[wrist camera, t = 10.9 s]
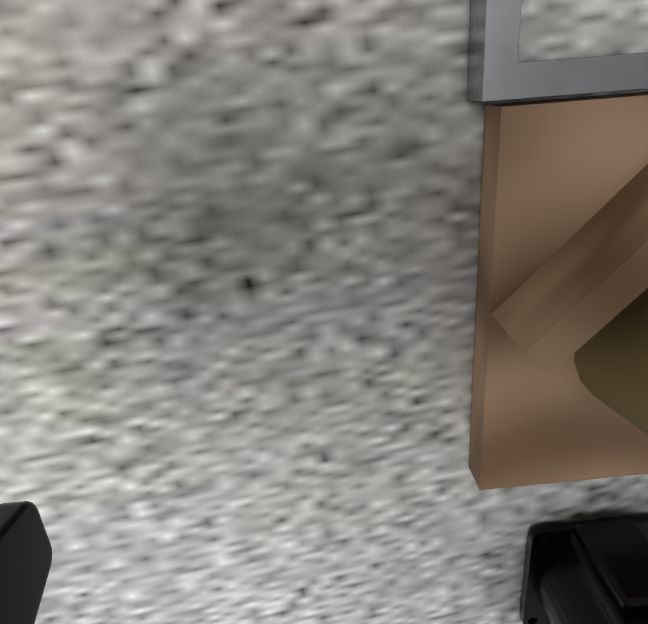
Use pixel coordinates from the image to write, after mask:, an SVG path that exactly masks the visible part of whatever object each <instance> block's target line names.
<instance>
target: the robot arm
mask: <svg viewBox="0 0 648 624" xmlns="http://www.w3.org/2000/svg"><path fill="white" fill-rule="evenodd" d="M51 562H52V548H51V544H50V541H49V538H48V536H47V533H46V530H45V528H44V525H43V522H42V520H41V517H40V514H39V511H38V509H37V507H36V506H35V505H34V504H33V503H32V502H28V501H22V502H12V503H3V504H0V624H34V623H35V620H36V616H37V613H38V609H39V606H40V602H41V599H42V595H43V592H44V588H45V584H46V581H47V577H48V574H49V570H50V567H51ZM520 618H521V620H522V622H523V624H648V515H643V516H633V517H623V518H613V519H603V520H593V521H583V522H573V523H563V524H553V525H543V526H537V527H535V528H533V529H532V530H531V531H530V532H529V535H528V544H527V553H526V563H525V572H524V581H523V590H522V600H521V609H520Z"/></svg>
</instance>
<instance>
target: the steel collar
mask: <svg viewBox="0 0 648 624" xmlns="http://www.w3.org/2000/svg"><path fill="white" fill-rule="evenodd" d="M520 14H521V0H471V8H470V39H469V69H468V100H473V101H482V102H483V101H495V100H508V99H520V98H532V97H545V96H557V95H570V94H582V93H595V92H607V91H620V90H632V89H644V88H648V52H647V53H635V54H622V55H609V56H597V57H584V58H571V59H559V60H546V61H533V62H521V63H517V59H518V44H519V29H520Z"/></svg>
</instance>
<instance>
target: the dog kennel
mask: <svg viewBox="0 0 648 624" xmlns="http://www.w3.org/2000/svg"><path fill="white" fill-rule="evenodd" d="M647 288H648V92H639V93H627V94H614V95H602V96H590V97H577V98H565V99H552V100H540V101H528V102H515V103H503V104H490V105H485V120H484V142H483V164H482V186H481V208H480V230H479V252H478V274H477V296H476V319H475V341H474V363H473V385H472V407H471V429H470V451H469V468H470V470H471V472H472V474H473V476H474V479H475V481H476V483H477V485H478V487H479V489H480V490H484V489H494V488H505V487H515V486H525V485H535V484H546V483H556V482H566V481H576V480H587V479H597V478H607V477H617V476H628V475H638V474H648V435H647V434H645V433H644V432H643V431H641V430H640V429H639V428H637V427H636V426H634V425H633V424H632V423H630V422H629V421H628V420H626V419H625V418H623V417H622V416H621V415H619V414H618V413H617V412H615V411H614V410H613V409H611V408H610V407H608V406H607V405H606V404H604V403H603V402H602V401H600V400H599V399H597V398H596V397H595V396H593V395H592V393H591V392H590V391H589V390H588V389H587V388H586V387H585V385H584V384H583V383H582V382H581V381H580V378H579V375H578V372H577V369H576V366H575V362H574V355H575V352H576V351H577V350H578V349H579V348H580V347H581V346H582V345H584V344H585V343H586V342H587V341H588V340H589V339H590V338H592V337H593V336H594V335H595V334H596V333H597V332H598V331H599V330H601V329H602V328H603V327H604V326H605V325H606V324H607V323H608V322H610V321H611V320H612V319H613V318H614V317H615V316H616V315H617V314H619V313H620V312H621V311H622V310H623V309H624V308H625V307H627V306H628V305H629V304H630V303H631V302H632V301H633V300H634V299H636V298H637V297H638V296H639V295H640V294H641V293H642V292H643V291H645V290H646V289H647Z"/></svg>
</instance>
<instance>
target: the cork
mask: <svg viewBox="0 0 648 624" xmlns="http://www.w3.org/2000/svg"><path fill="white" fill-rule="evenodd" d="M574 362H575V366H576V369H577V372H578V375H579V378H580V381H581V382H582V383H583V384H584V385H585V387H586V388H587V389H588V390H589V391H590V392H591V393H592V395H593V396H595V397H596V398H597V399H599V400H600V401H602V402H603V403H604V404H606V405H607V406H608V407H610V408H611V409H613V410H614V411H615V412H617V413H618V414H619V415H621V416H622V417H623V418H625V419H626V420H628V421H629V422H630V423H632V424H633V425H634V426H636V427H637V428H639V429H640V430H641V431H643V432H644V433H645V434H647V435H648V288H647V289H646V290H645V291H643V292H642V293H641V294H640V295H639V296H638V297H637V298H636V299H634V300H633V301H632V302H631V303H630V304H629V305H628V306H627V307H625V308H624V309H623V310H622V311H621V312H620V313H619V314H617V315H616V316H615V317H614V318H613V319H612V320H611V321H610V322H608V323H607V324H606V325H605V326H604V327H603V328H602V329H601V330H599V331H598V332H597V333H596V334H595V335H594V336H593V337H592V338H590V339H589V340H588V341H587V342H586V343H585V344H584V345H582V346H581V347H580V348H579V349H578V350H577V351H576V352H575V355H574Z"/></svg>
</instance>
